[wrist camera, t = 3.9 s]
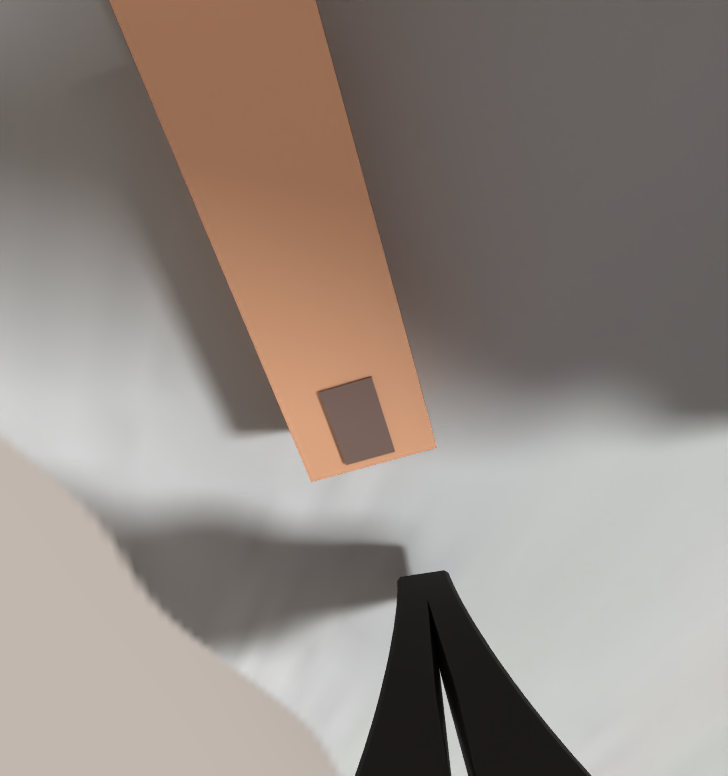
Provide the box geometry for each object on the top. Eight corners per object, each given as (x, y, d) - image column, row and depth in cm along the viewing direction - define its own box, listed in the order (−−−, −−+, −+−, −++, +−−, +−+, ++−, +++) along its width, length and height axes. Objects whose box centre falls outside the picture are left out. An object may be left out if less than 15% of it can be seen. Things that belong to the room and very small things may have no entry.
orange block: (418, 400, 10) (437, 449, 7) (321, 428, 10) (311, 484, 8) (269, -136, 6) (220, -354, 4) (128, -74, 7) (2, -247, 4)
